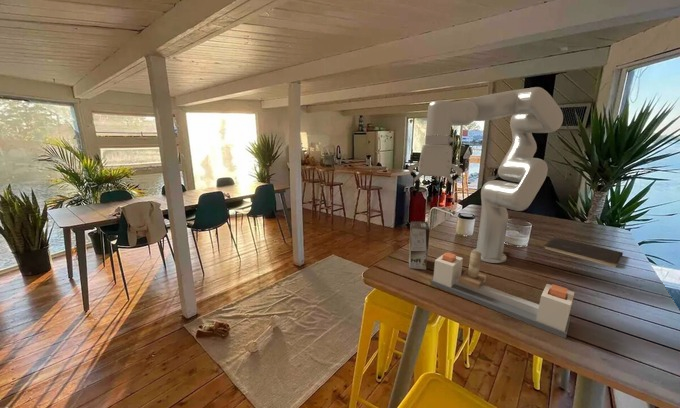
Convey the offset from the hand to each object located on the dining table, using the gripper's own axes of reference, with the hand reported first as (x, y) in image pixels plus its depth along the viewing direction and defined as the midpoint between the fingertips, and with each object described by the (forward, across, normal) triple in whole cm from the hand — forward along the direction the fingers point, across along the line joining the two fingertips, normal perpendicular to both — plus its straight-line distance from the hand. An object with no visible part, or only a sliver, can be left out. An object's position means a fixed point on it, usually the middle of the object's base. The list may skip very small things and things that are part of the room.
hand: (432, 192), depth 94 cm
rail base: (+30, -21, +11) cm, 38 cm away
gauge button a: (+23, -8, +5) cm, 25 cm away
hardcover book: (+30, -61, -41) cm, 79 cm away
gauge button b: (+23, -34, +17) cm, 44 cm away
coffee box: (+30, +3, -6) cm, 31 cm away
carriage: (+26, -15, +9) cm, 31 cm away
